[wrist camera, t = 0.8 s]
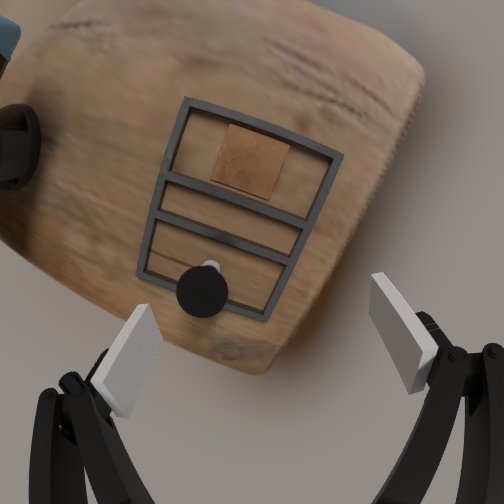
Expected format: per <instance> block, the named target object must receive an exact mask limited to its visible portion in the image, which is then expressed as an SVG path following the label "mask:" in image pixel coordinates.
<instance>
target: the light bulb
mask: <svg viewBox="0 0 504 504" xmlns="http://www.w3.org/2000/svg"><path fill="white" fill-rule="evenodd" d="M176 296H177V300H178V302H179V304H180V306H181V307H182V309H183V310H184V311H185V312H187V313H188V314H190V315H192V316H194V317H198V318H207V317H211V316H213V315H215V314H217V313H218V312H219V311H220V310H221V309H222V308H223V307H224V305H225V303H226V301H227V297H228V287H227V284H226V281H225V279H224V278H223V276H222V275H221V274H220V266H219V264H218V263H217V262H215V261H213V260H208V261H205V262H204V263H203V265H202V266H197V267H193V268H191V269H189V270H187V271H186V272H185V273H184V274H183V275H182V276H181V277H180V279H179V281H178V283H177V288H176Z"/></svg>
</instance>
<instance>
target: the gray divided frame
mask: <svg viewBox="0 0 504 504" xmlns="http://www.w3.org/2000/svg"><path fill="white" fill-rule="evenodd" d="M192 107H193V108H197V109H200V110H204V111H207V112H211V113H214V114H217V115H221V116H224V117H227V118H230V119H233V120H236V121H239V122H242V123H245V124H248V125H251V126H254V127H257V128H259V129H262V130H265V131H268V132H270V133H273V134H276V135H278V136H281V137H283V138H286V139H288V140H291V141H293V142H296V143H298V144H300V145H303V146H305V147H308V148H310V149H312V150H315V151H317V152H319V153H321V154H324V155H326V156H328V157H330V158H331V161H330V163H329V166H328V168H327V170H326V173H325V175H324V177H323V180H322V182H321V184H320V187H319V189H318V191H317V194H316V196H315V198H314V201H313V203H312V205H311V208H310V210H309V212H308V214H307V217H306V219H304V218H301V217H299V216H296V215H294V214H291V213H289V212H286V211H283V210H281V209H278V208H276V207H273V206H270V205H268V204H265V203H262V202H260V201H257V200H254V199H252V198H249V197H246V196H244V195H241V194H238V193H235V192H233V191H230V190H227V189H224V188H221V187H218V186H216V185H213V184H210V183H207V182H204V181H201V180H198V179H195V178H192V177H189V176H186V175H183V174H180V173H177V172H174V171H171V167H172V164H173V161H174V158H175V155H176V151H177V148H178V145H179V142H180V139H181V136H182V133H183V131H184V128H185V125H186V122H187V119H188V117H189V114H190V111H191V108H192ZM289 149H290V145H288V144H285V143H283V142H280V141H278V140H275V139H272V138H270V137H267V136H264V135H262V134H259V133H256V132H253V131H251V130H248V129H245V128H242V127H239V126H236V125H233V124H230V125H229V128H228V131H227V133H226V136H225V139H224V141H223V144H222V147H221V149H220V152H219V155H218V158H217V160H216V163H215V166H214V169H213V172H212V175H211V178H210V179H212V180H215V181H218V182H221V183H223V184H226V185H229V186H232V187H235V188H238V189H240V190H243V191H246V192H248V193H251V194H254V195H257V196H259V197H262V198H265V199H267V200H269V198H270V196H271V193H272V191H273V188H274V186H275V183H276V181H277V178H278V176H279V173H280V171H281V168H282V166H283V163H284V161H285V158H286V156H287V154H288V151H289ZM343 157H344V154H342V153H340V152H338V151H336V150H333V149H331V148H329V147H327V146H325V145H323V144H320V143H318V142H316V141H314V140H311V139H309V138H307V137H304V136H302V135H299V134H297V133H295V132H292V131H290V130H287V129H285V128H282V127H279V126H277V125H274V124H272V123H269V122H266V121H263V120H261V119H258V118H255V117H252V116H249V115H246V114H243V113H240V112H237V111H234V110H231V109H228V108H225V107H221V106H218V105H215V104H211V103H208V102H204V101H201V100H197V99H193V98H189V97H184V100H183V102H182V105H181V108H180V110H179V113H178V116H177V119H176V122H175V124H174V127H173V130H172V133H171V136H170V139H169V142H168V145H167V149H166V152H165V155H164V158H163V162H162V165H161V168H160V172H159V175H158V179H157V182H156V186H155V190H154V193H153V197H152V201H151V205H150V209H149V213H148V218H147V222H146V226H145V231H144V235H143V240H142V245H141V250H140V255H139V260H138V265H137V271H136V276H137V277H140V278H142V279H145V280H147V281H150V282H152V283H155V284H157V285H160V286H163V287H165V288H168V289H171V290H173V291H176V288H177V283H178V281H176V280H174V279H171V278H168V277H166V276H163V275H161V274H158V273H155V272H153V271H150V270H148V269H146V266H147V261H148V256H149V252H150V247H151V243H152V238H153V234H154V230H155V226H156V222H157V219H160V220H163V221H166V222H168V223H171V224H174V225H177V226H180V227H182V228H185V229H188V230H191V231H193V232H196V233H199V234H202V235H205V236H207V237H210V238H213V239H216V240H218V241H221V242H224V243H227V244H230V245H232V246H235V247H238V248H241V249H244V250H246V251H249V252H252V253H255V254H257V255H260V256H263V257H266V258H269V259H271V260H274V261H277V262H280V263H282V264H285V265H284V267H283V270H282V272H281V274H280V276H279V278H278V280H277V282H276V284H275V287H274V289H273V291H272V293H271V295H270V297H269V299H268V301H267V303H266V305H265V307H264V310H260V309H257V308H254V307H251V306H248V305H245V304H242V303H239V302H236V301H233V300H230V299H227V301H226V303H225V305H224V307H223V308H224V309H227V310H230V311H233V312H236V313H239V314H242V315H245V316H248V317H251V318H254V319H257V320H260V321H264V322H267V321H268V319H269V317H270V315H271V314H272V312H273V310H274V308H275V306H276V304H277V302H278V300H279V298H280V296H281V294H282V292H283V289H284V287H285V285H286V283H287V281H288V279H289V277H290V275H291V273H292V271H293V269H294V267H295V265H296V263H297V261H298V258H299V256H300V254H301V252H302V250H303V248H304V246H305V244H306V241H307V239H308V237H309V235H310V233H311V231H312V228H313V226H314V224H315V222H316V220H317V217H318V215H319V213H320V211H321V208H322V206H323V204H324V202H325V199H326V197H327V195H328V193H329V190H330V188H331V186H332V183H333V181H334V179H335V176H336V174H337V172H338V169H339V167H340V164H341V162H342V160H343ZM168 180H169V181H172V182H175V183H178V184H181V185H184V186H187V187H190V188H193V189H196V190H199V191H202V192H205V193H208V194H211V195H213V196H216V197H219V198H222V199H225V200H227V201H230V202H233V203H236V204H239V205H241V206H244V207H247V208H249V209H252V210H255V211H258V212H260V213H263V214H266V215H268V216H271V217H274V218H276V219H279V220H281V221H284V222H287V223H289V224H292V225H294V226H297V227H299V228H301V230H300V232H299V235H298V237H297V239H296V241H295V243H294V246H293V248H292V250H291V252H290V254H286V253H283V252H280V251H278V250H275V249H272V248H269V247H267V246H264V245H261V244H258V243H256V242H253V241H250V240H247V239H245V238H242V237H239V236H236V235H234V234H231V233H228V232H225V231H222V230H220V229H217V228H214V227H211V226H209V225H206V224H203V223H200V222H197V221H195V220H192V219H189V218H186V217H183V216H181V215H178V214H175V213H172V212H169V211H166V210H164V209H161V208H160V206H161V202H162V198H163V195H164V191H165V188H166V184H167V181H168Z"/></svg>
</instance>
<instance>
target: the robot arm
mask: <svg viewBox="0 0 504 504" xmlns="http://www.w3.org/2000/svg"><path fill="white" fill-rule="evenodd" d="M20 36H21V29H20V26H19V25H18V24H16V23H14V22H13V21H11V20H9V19H7V18H5V17H3V16H1V15H0V79H1V77H2V75H3V73H4V71H5V68H6V66H7V64H8V62H10V60H11V55H12V53H13V51H14V49H15V47H16V45H17V43H18V41H19V39H20ZM39 151H40V127H39V123H38V119H37V116H36V114H35V112H34V111H33V109H32V108H31V107H30V106H28V105H26V104H10V105H8V106H5V107H3V108H1V109H0V191H6V192H8V191H13V190H16V189H19V188H21V187H23V186H24V185H25V184H26V183H27V182H28V181H29V180H30V178H31V177H32V175H33V173H34V170H35V168H36V165H37V161H38V157H39ZM369 315H370V317H371V319H372V320H373V322H374V324H375V326H376V328H377V330H378V332H379V334H380V336H381V338H382V340H383V342H384V344H385V346H386V348H387V350H388V352H389V354H390V355H391V358H392V359H393V362H394V364H395V366H396V368H397V370H398V372H399V374H400V376H401V378H402V381H403V383H404V385H405V387H406V389H407V392H408V394H409V395H410V394H413V393H416V392H419V391H422V390H424V387H425V384H426V382H427V384H428V386H429V387H430V389H429V391H428V394H427V396H426V398H425V400H424V405H423V407H422V410H421V412H420V414H419V417H418V419H417V421H416V424H415V426H414V429H413V431H412V433H411V435H410V437H409V439H408V441H407V443H406V445H405V447H404V449H403V451H402V453H401V455H400V457H399V459H398V461H397V462H396V464H395V466H394V468H393V470H392V471H391V473H390V475H389V477H388V478H387V480H386V482H385V483H384V485H383V486H382V488H381V490H380V491H379V493H378V494H377V496H376V497H375V499H374V500H373V502H372V503H371V504H420V503H421V501H422V499H423V497H424V496H425V494H426V492H427V490H428V487H429V485H430V483H431V481H432V479H433V477H434V475H435V472H436V470H437V468H438V466H439V463H440V461H441V458H442V456H443V453H444V451H445V448H446V445H447V443H448V440H449V437H450V434H451V431H452V428H453V425H454V421H455V418H456V415H457V411H458V408H459V404H460V400H461V397H464V396H465V433H464V449H463V459H462V468H461V475H460V482H459V488H458V493H457V498H456V503H455V504H504V348H503V347H502V346H501V345H499V344H496V343H489V344H487V345H485V346H484V348H483V350H482V352H481V353H467V351H465V350H464V349H463V348H460V347H458V346H453V345H452V344H451V342H450V341H449V340H448V338H447V337H446V336H445V334H444V333H443V332H442V331H441V329H439V326H438V325H437V324H436V323H435V321H434V320H433V318H432V317H431V316H430V315H428V314H427V313H425V312H423V311H421V312H418V313H414V312H413V311H412V309H411V308H410V306H409V305H408V304H407V302H406V301H405V300H404V298H403V297H402V296H401V294H400V293H399V292H398V291H397V290H396V288H395V287H394V286H393V284H392V283H391V282H390V280H388V278H387V277H386V276H385V274H384V273H383V272H381V273H376V274H371V284H370V304H369ZM162 340H163V337H162V335H161V332H160V330H159V328H158V325H157V323H156V321H155V318H154V316H153V313H152V311H151V308H150V306H149V304H139V305H138V306H137V307H136V309H135V310H134V312H133V313H132V315H131V316H130V318H129V319H128V321H127V322H126V324H125V325H124V327H123V329H122V330H121V332H120V333H119V335H118V336H117V338H116V340H115V341H114V343H113V344H112V346H111V347H110V349H106V350H105V351H104V352H103V353H102V354H101V355H100V357H99V358H98V360H97V362H96V363H95V364H94V367H93V368H92V369H91V371H90V373H89V374H88V376H87V378H86V379H85V381H83V379H82V378H81V376H80V375H79V374H78V373H77V372H69V373H66V374H65V375H64V376H63V377H62V378H61V379H60V381H59V386H60V388H61V389H62V390H63V392H64V393H65V394H58V392H57V391H56V390H55V389H54V388H48V389H46V390H44V391H43V392H42V393H41V395H40V396H39V400H38V405H37V411H36V416H35V422H34V428H33V436H32V444H31V454H30V468H29V504H88V501H87V494H86V485H85V473H84V467H85V470H86V473H87V476H88V479H89V482H90V484H91V487H92V490H93V492H94V495H95V497H96V500H97V502H98V504H155V503H154V501H153V500H152V498H151V496H150V494H149V493H148V491H147V489H146V488H145V486H144V484H143V482H142V481H141V479H140V477H139V475H138V473H137V471H136V469H135V467H134V465H133V463H132V462H131V460H130V457H129V455H128V453H127V451H126V449H125V447H124V445H123V442H122V440H121V438H120V436H119V433H118V431H117V429H116V426H115V424H114V422H113V419H112V418H111V416H110V413H111V411H113V412H114V413H115V415H116V416H117V417H121V418H128V419H129V418H130V416H131V413H132V411H133V408H134V405H135V403H136V401H137V399H138V396H139V394H140V391H141V389H142V386H143V384H144V382H145V379H146V377H147V375H148V372H149V370H150V368H151V365H152V363H153V361H154V358H155V356H156V354H157V351H158V349H159V347H160V345H161V342H162ZM59 425H60V427H59Z"/></svg>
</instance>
